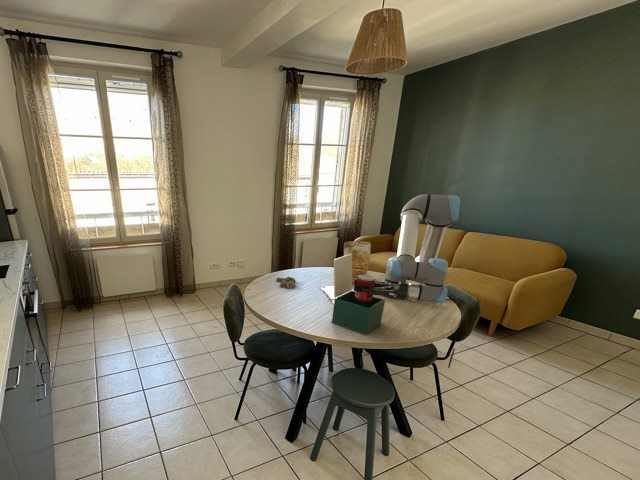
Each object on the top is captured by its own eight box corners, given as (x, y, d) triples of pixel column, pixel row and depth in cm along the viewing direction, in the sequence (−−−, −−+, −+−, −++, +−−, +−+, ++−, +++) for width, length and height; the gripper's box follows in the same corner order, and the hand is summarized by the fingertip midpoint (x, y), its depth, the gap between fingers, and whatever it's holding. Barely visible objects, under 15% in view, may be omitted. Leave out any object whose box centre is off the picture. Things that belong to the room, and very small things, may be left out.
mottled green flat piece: (275, 279, 225) (276, 276, 225) (293, 279, 226) (293, 276, 225) (280, 288, 209) (280, 285, 208) (298, 288, 209) (298, 285, 208)
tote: (380, 323, 162) (385, 299, 157) (365, 334, 151) (370, 309, 146) (347, 313, 173) (351, 290, 169) (331, 322, 162) (334, 298, 158)
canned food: (370, 303, 151) (373, 280, 147) (352, 299, 155) (355, 277, 151) (373, 298, 157) (377, 276, 153) (356, 294, 161) (359, 273, 157)
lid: (352, 253, 163) (350, 253, 164) (335, 259, 152) (333, 259, 153) (352, 289, 168) (350, 289, 169) (335, 297, 157) (334, 297, 158)
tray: (350, 287, 212) (351, 281, 210) (369, 305, 186) (370, 299, 185) (319, 287, 211) (320, 282, 209) (333, 306, 185) (334, 300, 183)
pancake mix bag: (337, 281, 223) (342, 240, 212) (364, 281, 224) (371, 240, 213) (340, 284, 216) (346, 242, 206) (368, 284, 217) (375, 242, 207)
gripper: (407, 307, 141) (352, 299, 148) (403, 291, 159) (353, 285, 166) (411, 290, 138) (354, 284, 145) (406, 276, 156) (356, 271, 163)
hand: (354, 285), depth 155 cm, fingers closed on canned food, 8 cm apart
